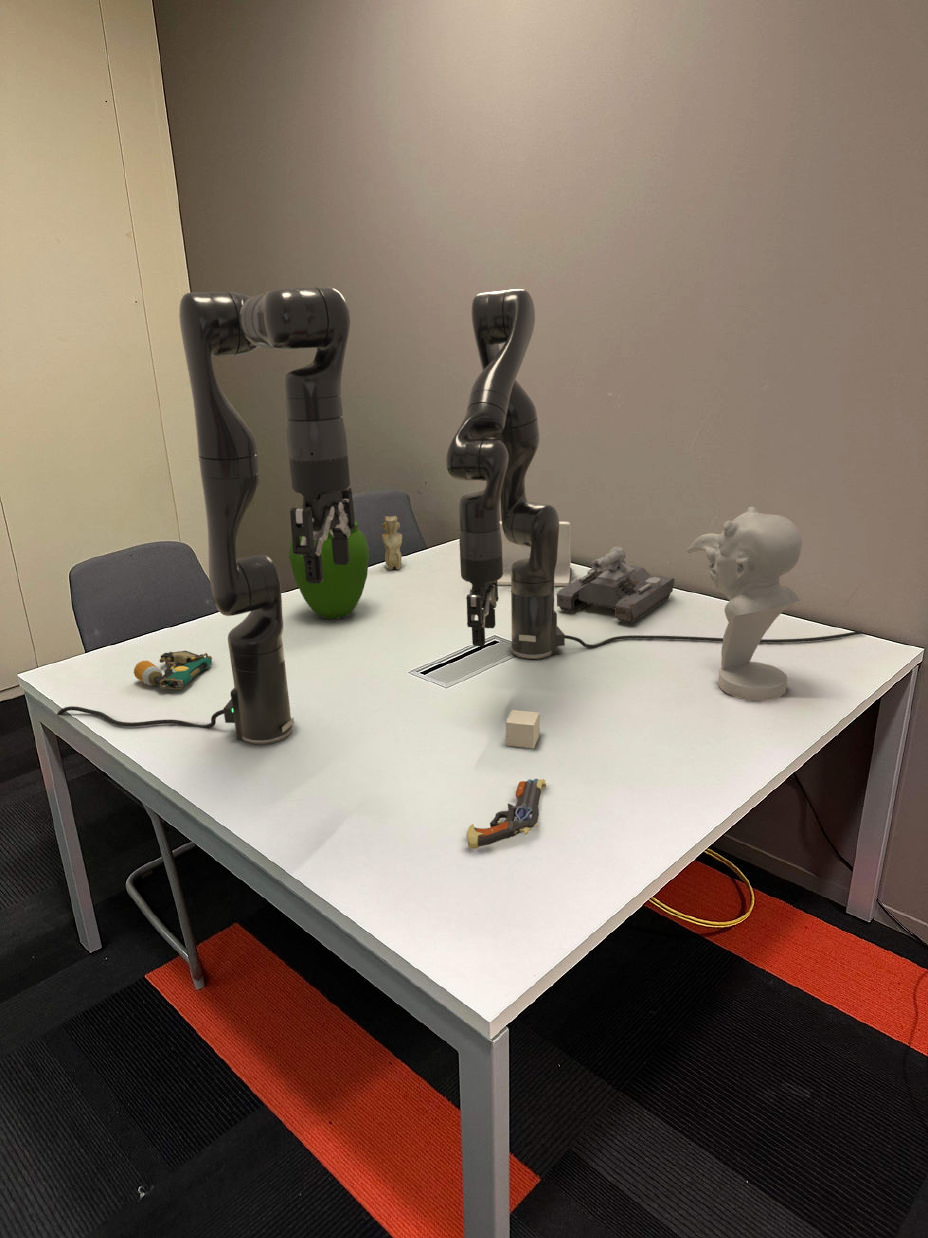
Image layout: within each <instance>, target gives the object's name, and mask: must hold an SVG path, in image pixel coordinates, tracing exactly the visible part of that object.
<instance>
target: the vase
mask: <svg viewBox="0 0 928 1238" xmlns="http://www.w3.org/2000/svg"><path fill="white" fill-rule="evenodd" d="M346 516H347V518H348V515H347V514H346ZM358 524H359V523H358V521H356V520H355V528H354V530H352V529H350V536H349V537H347V538H348V545H349V558H350V562H349V563H348V564H346V565H338V564H335V563H334V562H333V552H332V541H331V539H332V538H333V537H334V536H332V535H331V533H330V532H329V533H328V538H327V539H326V540H325V541H323V545H322V550H321V554H320V555H321V557H322V568H323V581H322V582H321V583H319V584H317V583H308V582H307V581H306V575H305V565H304V557H303V555H299V554H294V553H293V545H292V539H291V540H290V542H289V551H288V559H289V564H290V566H291V567H290V568H291V570H292V575H293V578H294V581H295V584H296V586H297V587H298V589H299V591H300V593H301V596H302V597H303V600H304V601H305V603H306V604H307V605H308V607H309V608H310V609H311V611H312V612H314V613H315V614H316V615H317V616H318V617H320V618H324V619H326V620H327V619H329V620H336V619H341V618H345V617H347V616H349V615H350V614H351V613H352V612H353V611H354V610H355V608H356V607H357V605H358V604H359V601H360V599H361V597H362V595H363V592H364V588H365V586H366V581H367V578H368V570H369V561H370V560H369V559H370V548H369V545H368V541H367V537H366V535H365V534H364V533H363V532H362V531H361V530H360V529H359V527H358ZM301 542H302V536H300V545H301ZM315 542H316V540H314V546H315Z"/></svg>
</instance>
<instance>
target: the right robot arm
mask: <svg viewBox="0 0 928 1238" xmlns="http://www.w3.org/2000/svg"><path fill="white" fill-rule="evenodd" d="M471 323H472V324H471V325H472V331H473V334H474V339H475V343H476V347H477V348H476V349H477V352H478V356H479V361H480V365H481V366H480V367H481V370H482V371H481V372H480V374H479V375H478V377H476V379H475V381H474V383H473V385H472V388H471V390H470V394H469V399H468V401H467V408H466V411H465V412H466V413H465V416H464V418H463V420H462V422H461V424H460V426H459V428H458V429H457V431H456V433H455V434H454V436H453V437H452V439H451V441H450V443H449V445H448V448H447V450H446V454H445V467H446V471H447V472H448V475H450V477H452V479H454V480H458V481H464V482H465V481H466V482H467V481H471V482H472V481H473V482H475V481H476V482H485V487H484V489H482V490H479V491H473V492H469V493H465V494H464V495H462V496H461V497H460V498H459V502H458V510H459V511H458V513H459V539H458V540H459V541H458V542H459V561H460V562H459V563H460V564H459V565H460V577H461V579H462V580H463V581H465V582H468V583H470V584H471V585H472V586H471V588H470V589H469V594H467V595H466V597H465V599H466V622H467V623H466V626H467V628H471V640H472V641H471V642H472V643H471V644H472V645H473V647H484V646H485V644H486V629H495V627H496V608H497V602H498V601H499V585H498V584H497V580H499V579H500V578H501V577H502V575H503V561H502V537H501V531H500V521H502V528H503V532H504V535H505V537H506V539H507V540H508V541H509V542H511V543H514V544H517V545H522V546H528V547H531V552H530V558H526V559H522V560H519V561H516V562H515V563H513V565H512V567H511V585H510V588H511V589H510V597H511V599H510V603H511V604H510V606H511V607H510V609H511V610H510V615H511V617H510V618H511V621H510V622H511V643H510V644H511V647H510V651H511V653H512V655H513V656H515V657H518V658H521V659H525V660H526V659H527V660H540V659H545V658H548V657H550V656H552V655H557V654H558V653H557V650H558V649H557V648H558V647H564V646H565V645H566V643H565V642H566V639H567V640H571V641H575V642H578V643H579V644H580V645H581V646H583V647H584V648H587V649H595V648H599V647H602V646H605V645H606V644H609V643H611V642H613V641H616V640H617V641H618V640H633V639H634V640H635V639H638V640H681V641H682V640H683V641H684V640H685V641H707V642H723V637H707V636H682V635H641V634H639V635H635V634H633V635H631V634H630V635H617V636H613V637H610V638H607V639H605V640H603V641H601V642H600V643H596V644H588V643H586V642H584V640H582V639H581V638H579V637H576V636H574V635H573V636H571V635H567V634H565V632H563V631H562V630H561V628H560V627H559V626H558V613H557V612H556V611H555V586H554V572H555V567H556V563H557V554H558V538H559V522H560V520H559V518H560V517H559V514H558V511H557V509H556V508H555V507H554V506H553V505H551V504H547V503H541V502H540V503H539V502H532V501H529V500H528V498H527V494H526V476H527V473H528V470H529V467H530V466H531V463H533V460H534V458H535V456H536V454H537V451H538V448H539V444H540V430H539V422H538V414H537V408H536V406H535V403H534V402H533V400H532V398H531V397H530V396H529V395H528V393H527V392H526V390H525V389H524V388H523V386H521V384H520V383H519V382H518V381H517V377H518V373H519V371H520V368H521V366H522V363H523V362H524V359H525V355H526V352H527V350H528V347H529V345H530V342H531V340H532V335H533V333H534V328H535V324H536V310H535V303H534V301H533V298H532V296H531V294H530V293H529V292H528V291H527V290H526V289H522V288H521V289H520V288H515V289H514V288H513V289H504V290H496V291H487V292H480V293H478V294H476V295H475V296H474V297H473V299H472V303H471ZM502 344H503V346H502V347H501V348H500V345H502ZM476 616H477V619H476ZM862 634H863V631H862V630H856V631H852V632H846V633H841V634H840V633H839V634H833V635H826V636H816V637H815V636H814V637H803V638H781V639H780V638H779V639H777V638H776V639H775V638H773V639H770V638H768V639H767V638H766V639H765V638H762V639H761V641H760V642H759V644H762V643H764V644H767V643H769V644H774V643H775V644H776V643H782V644H783V643H802V642H804V643H805V642H817V641H824V640H826V641H827V640H835V639H840V638H846V637H852V636H857V635H862Z"/></svg>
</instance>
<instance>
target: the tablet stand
mask: <svg viewBox="0 0 928 1238" xmlns="http://www.w3.org/2000/svg"><path fill="white" fill-rule="evenodd" d="M500 531H501V537H502V561H503V575H502V577H501V578H500V579H499V580H497V584H498V586H511V567H512V565H513V563H515V562H516V561H519V560H522V559H526V558H530V552H531V547H528V546H522V545H517V544H514V543H511V542H509V541H508V540H507V539H506V537H505V535H504V532H503V528H502V520H500ZM571 560H572V558H571V522H569V521H559V538H558V554H557V563H556V567H555V572H554V587H556V586H557V587H566V586H567V585H569V584H570V580H571V579H570V578H571V565H572V564H571Z"/></svg>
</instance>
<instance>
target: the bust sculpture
mask: <svg viewBox="0 0 928 1238" xmlns="http://www.w3.org/2000/svg"><path fill="white" fill-rule="evenodd" d="M802 547H803V546H802V535H801V532H800V530H799V529H798V527H797V526H796V525H795V523H794V522H792V521H791V520H790V519H788V518H786V517H785V516H783V515H778V514H773V513H772V514H771V513H770V514H769V513H761V512H759V511H758V509H757V508H756V507H755V506H749V507H747V510H746V511H745V512H744V513H741V514H740V515H738V516H737V517H735V518H734V519H733V520H726V521H724V523H723V524H722V532H721V533H720V534H718V533H715V532H713V533H712V532H711V533H704V534H701V535H699V536H698V537H697V538H696V539H694V541H693V543H692V544H690V545H689V547H687V548H686V553H689V554H691V553H695V552H700V551H702V552H705V553H706V557H707V560H708V562H709V563H710V564H708V573H709V575H710V579H711V580H712V582H713V583H714V586H715V588H716V589H717V591H720V593H722V594H723V595H724V596H725V597H727V599H728V602H727V603H726V604H725V606H724V614H725V618H726V620H727V622H728V623H727V625H726V628H725V630H724V634H723V637H722V638H723V641H722V645H721V651H720V654H721V663H720V668H719V671H718V680H717V683H718V684H717V685H718V687H719V688H720V690H722V691H723V692H724V693H725V694H728V695H730V696H732V697H735V698H739V699H742V700H749V701H770V700H771V701H772V700H776V699H778V698H779V699H780V698H781V697H782V696H784V695H785V694H786V692H787V685H788V676H787V674H786V673H785V672H784V671H783V670H782V669H780V668H778V667H776V666H774V665H771V664H767V663H764V662H759V661H758V662H757V661H752V658H753V655H754V653H755V652H756V650H757V648H758V646H759V644H760V643H759V642H760V641H761V639H763V637H764V636H765V634H767V632H768V630H769V628H770V627H771V626H772V624H773V623H774V622H775V621H776V619H777V618H778V617H779V616H780V615H781V614H782V613H783V612H785V611H786V610H787V609H788V608H789V607H791V606H792V605H794V604H795V603H797V602H800V601H801V599H800V596H799V595H798V594H797V593H796V591H795V590H794V589H793V588H792V587H790V586H787V585H781V583H780V582H781V578H780V577H781V576H783V575H786V574H788V573H789V572H790V571H791V570H792V569H793V568H795V567H796V565H797V564H798V562H799V559H800V557H801V552H802Z"/></svg>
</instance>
